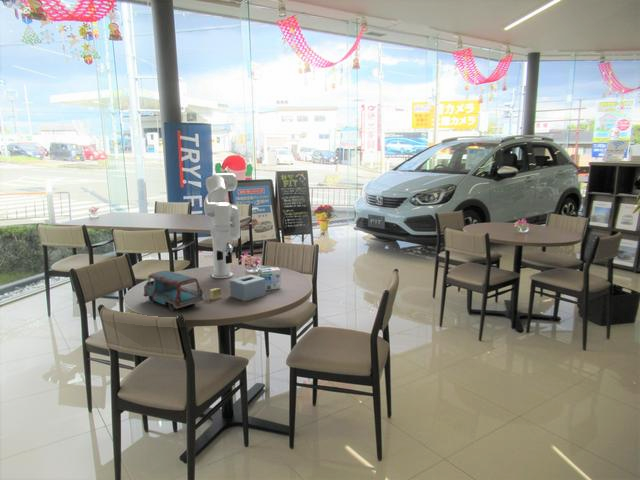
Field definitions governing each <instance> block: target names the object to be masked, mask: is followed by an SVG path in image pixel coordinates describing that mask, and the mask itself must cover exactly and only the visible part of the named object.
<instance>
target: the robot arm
mask: <svg viewBox="0 0 640 480" xmlns="http://www.w3.org/2000/svg"><path fill="white" fill-rule="evenodd" d="M205 187H206V190H207V194H206V195H205V197H204V200H203V211H204V215H205V216H206V217H208V218H212V220H213V222H214V225H212V227H210V237H211V242H212V252H213V253H212V254H213V255H212V256H213V268H211V271H212V272H213V273H211V277H212V278H214V279H227V278H232V277H233V276H234V272H232V271H231V264H232V263H233V250H234V247H233V246H232V240H233V241H235V240H236V241H237V240H239V239H240V238H241V221H240V219H241V218H240V216H241V215H240V210H239V208H238V207H237V206H236V205H232V204H231V203H230V202H229V201H228V202H227V199H226V198H227V195H228V192H232V191H235V190H236V189H237V187H238V177H237V175H236V174H235V173H233V172H226V173H225V172H221V173H215V174H212V175H211V176H210V177H207V178H206V179H205Z"/></svg>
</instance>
